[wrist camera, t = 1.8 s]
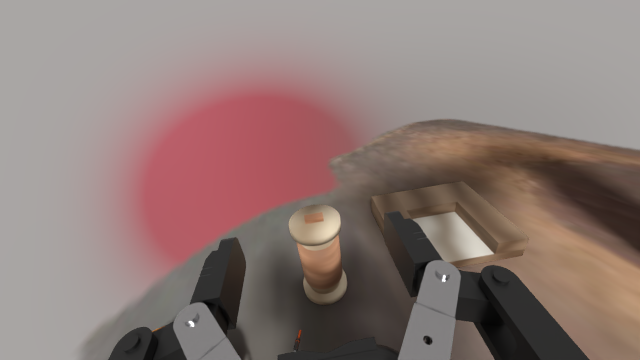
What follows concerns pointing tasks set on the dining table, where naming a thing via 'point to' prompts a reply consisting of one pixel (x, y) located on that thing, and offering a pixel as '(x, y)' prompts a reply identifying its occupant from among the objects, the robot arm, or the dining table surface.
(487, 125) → the dining table surface
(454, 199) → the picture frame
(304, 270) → the bobbin
